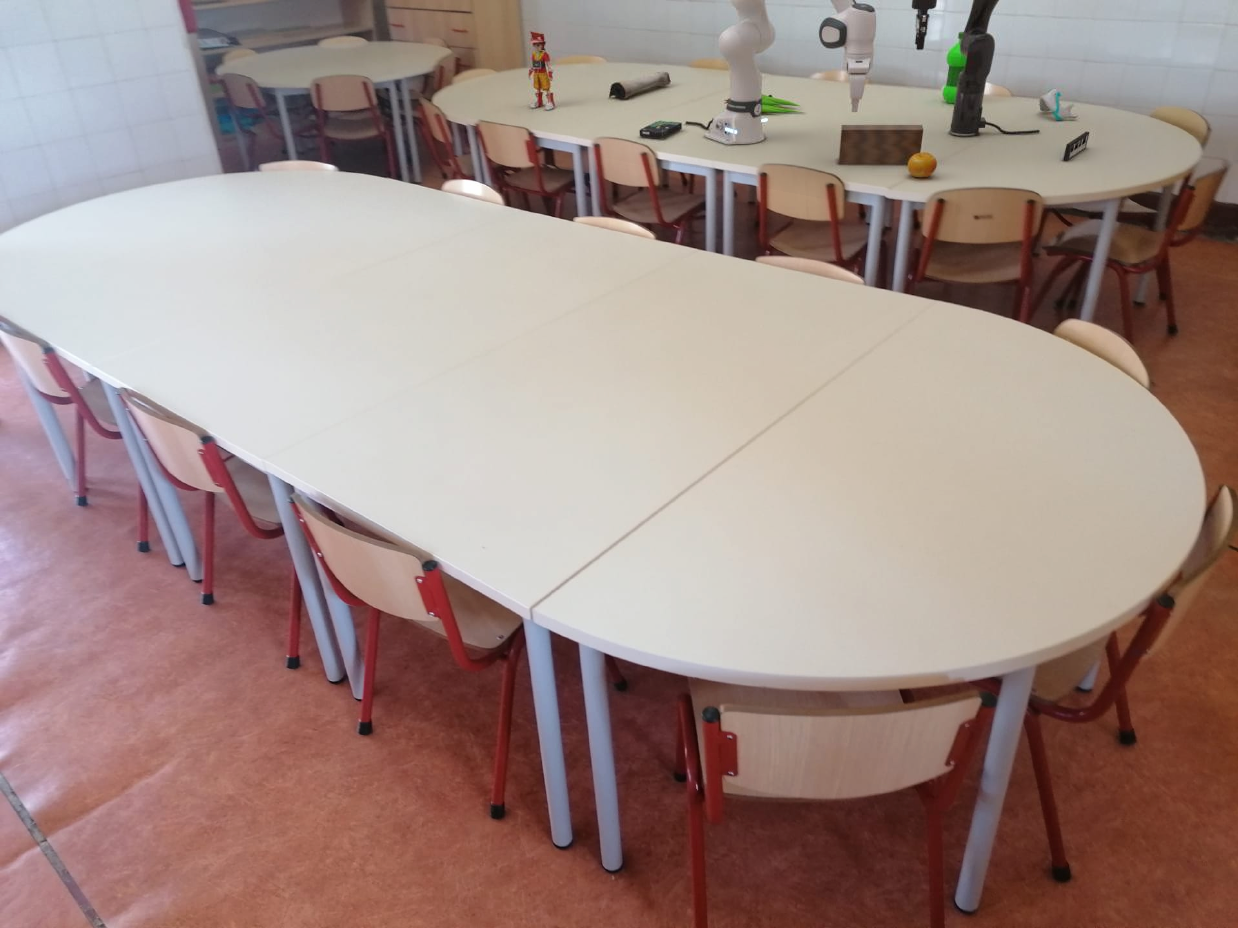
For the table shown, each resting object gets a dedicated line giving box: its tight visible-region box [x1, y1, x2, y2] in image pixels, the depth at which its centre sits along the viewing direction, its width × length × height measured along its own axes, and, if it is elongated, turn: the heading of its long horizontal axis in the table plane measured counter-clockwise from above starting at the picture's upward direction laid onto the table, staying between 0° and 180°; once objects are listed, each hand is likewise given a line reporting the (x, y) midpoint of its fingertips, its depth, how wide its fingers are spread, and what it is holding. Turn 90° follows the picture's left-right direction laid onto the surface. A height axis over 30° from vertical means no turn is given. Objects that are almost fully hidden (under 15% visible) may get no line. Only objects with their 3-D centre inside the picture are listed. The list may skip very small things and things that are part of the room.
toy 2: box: [761, 93, 804, 114], centre depth 358 cm, size 28×5×30 cm
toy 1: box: [527, 31, 556, 111], centre depth 374 cm, size 12×9×30 cm
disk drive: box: [639, 120, 683, 140], centre depth 338 cm, size 10×3×15 cm
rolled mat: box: [608, 71, 672, 101], centre depth 395 cm, size 30×9×10 cm
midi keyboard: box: [1062, 131, 1091, 161], centre depth 291 cm, size 18×1×5 cm, turn 138°
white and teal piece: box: [1038, 88, 1078, 121], centre depth 328 cm, size 15×10×10 cm
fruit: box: [907, 151, 938, 179], centre depth 280 cm, size 8×8×8 cm
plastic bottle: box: [942, 31, 966, 104], centre depth 348 cm, size 10×10×25 cm
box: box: [838, 124, 924, 166], centre depth 294 cm, size 26×6×11 cm, turn 78°
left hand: (854, 108), depth 289 cm, fingers open, 8 cm apart
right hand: (919, 47), depth 292 cm, fingers open, 8 cm apart
